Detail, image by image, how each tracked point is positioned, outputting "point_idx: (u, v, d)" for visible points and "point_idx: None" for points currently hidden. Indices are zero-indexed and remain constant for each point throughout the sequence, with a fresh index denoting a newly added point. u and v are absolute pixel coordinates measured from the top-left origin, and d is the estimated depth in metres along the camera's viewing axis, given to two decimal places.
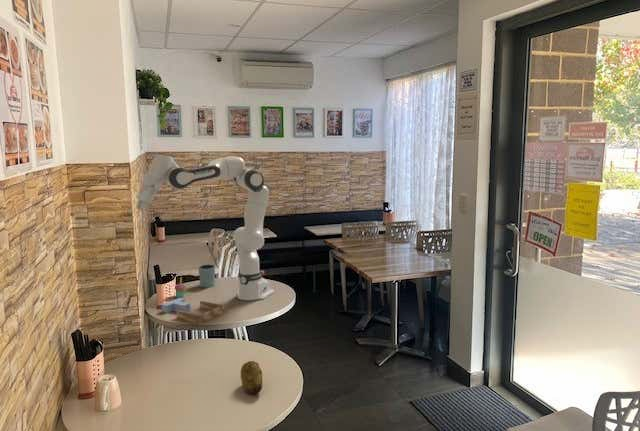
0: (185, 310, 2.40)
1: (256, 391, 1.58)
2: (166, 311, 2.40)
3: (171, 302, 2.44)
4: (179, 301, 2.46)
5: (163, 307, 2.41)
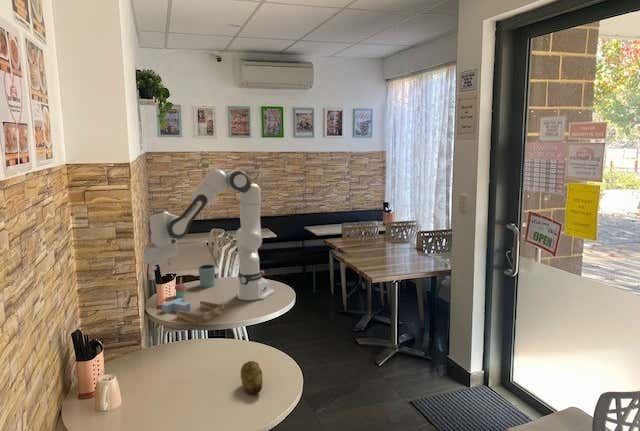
0: (185, 310, 2.40)
1: (256, 391, 1.58)
2: (166, 311, 2.40)
3: (171, 302, 2.44)
4: (179, 301, 2.46)
5: (163, 307, 2.41)
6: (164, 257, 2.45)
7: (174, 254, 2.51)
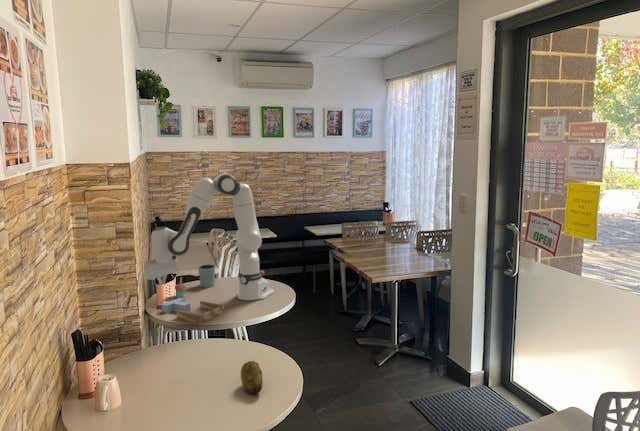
0: (185, 310, 2.40)
1: (256, 391, 1.58)
2: (166, 311, 2.40)
3: (171, 302, 2.44)
4: (179, 301, 2.46)
5: (163, 307, 2.41)
6: (164, 273, 2.47)
7: (174, 270, 2.52)
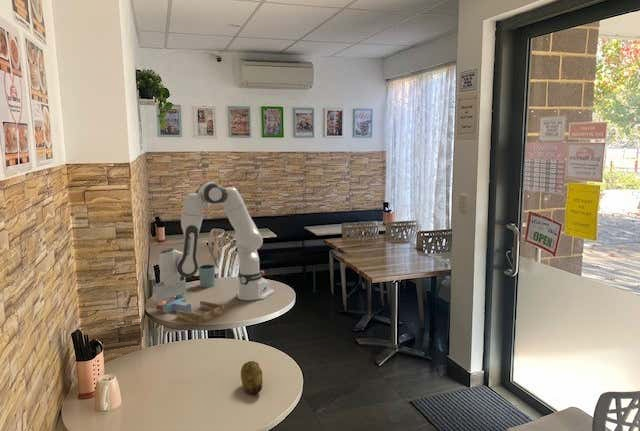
0: (186, 310, 2.40)
1: (256, 391, 1.58)
2: (167, 311, 2.40)
3: (172, 302, 2.44)
4: (180, 301, 2.45)
5: (164, 307, 2.41)
6: (173, 295, 2.46)
7: (183, 291, 2.52)
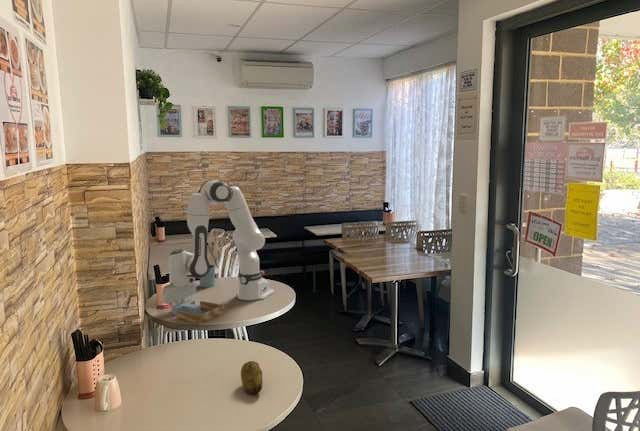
0: (195, 312, 2.36)
1: (256, 391, 1.58)
2: (176, 313, 2.37)
3: (181, 304, 2.41)
4: (189, 303, 2.42)
5: (173, 309, 2.37)
6: (182, 297, 2.43)
7: (192, 293, 2.48)
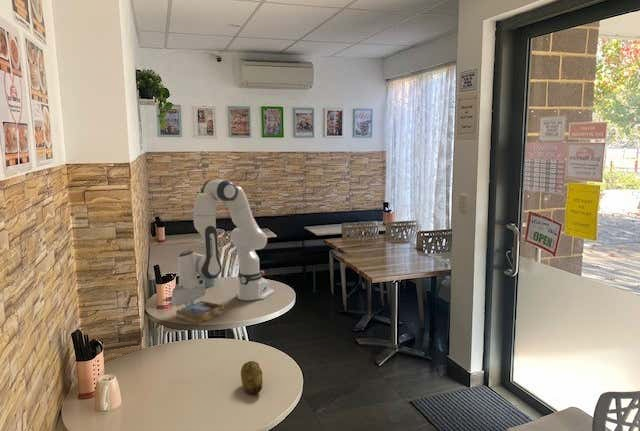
0: None
1: (256, 391, 1.58)
2: None
3: (191, 306, 2.37)
4: (199, 305, 2.38)
5: None
6: (192, 299, 2.39)
7: (202, 295, 2.45)
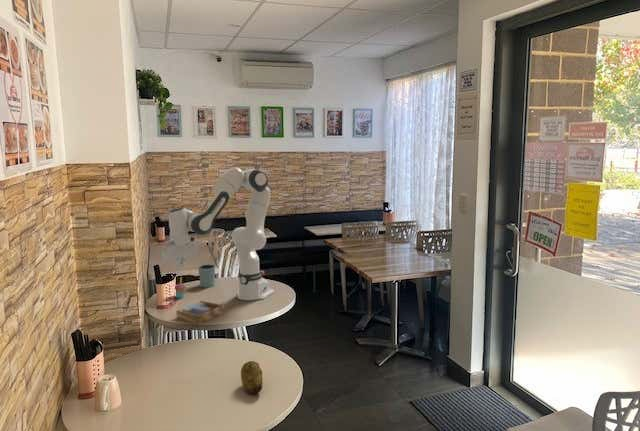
0: None
1: (256, 391, 1.58)
2: None
3: (191, 307, 2.37)
4: (199, 306, 2.38)
5: None
6: (183, 255, 2.38)
7: (193, 252, 2.44)
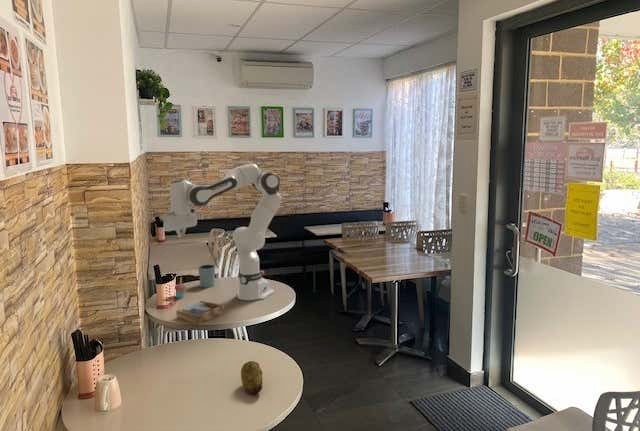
0: None
1: (256, 391, 1.58)
2: None
3: (191, 307, 2.37)
4: (199, 306, 2.38)
5: None
6: (184, 226, 2.45)
7: (193, 224, 2.51)
